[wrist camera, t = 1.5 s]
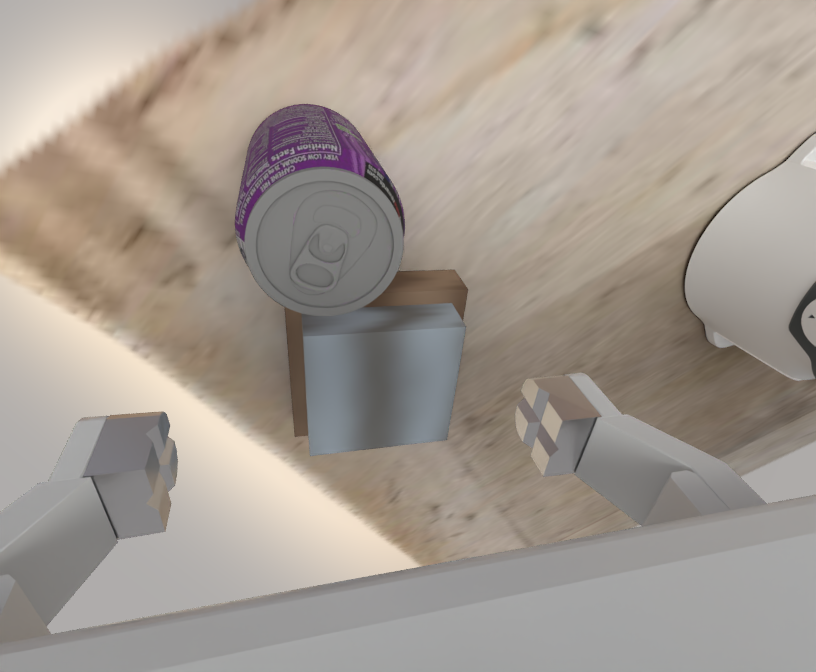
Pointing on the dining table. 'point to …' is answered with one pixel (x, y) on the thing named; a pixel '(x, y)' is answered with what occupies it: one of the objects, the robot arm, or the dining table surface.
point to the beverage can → (317, 213)
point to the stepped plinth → (379, 366)
